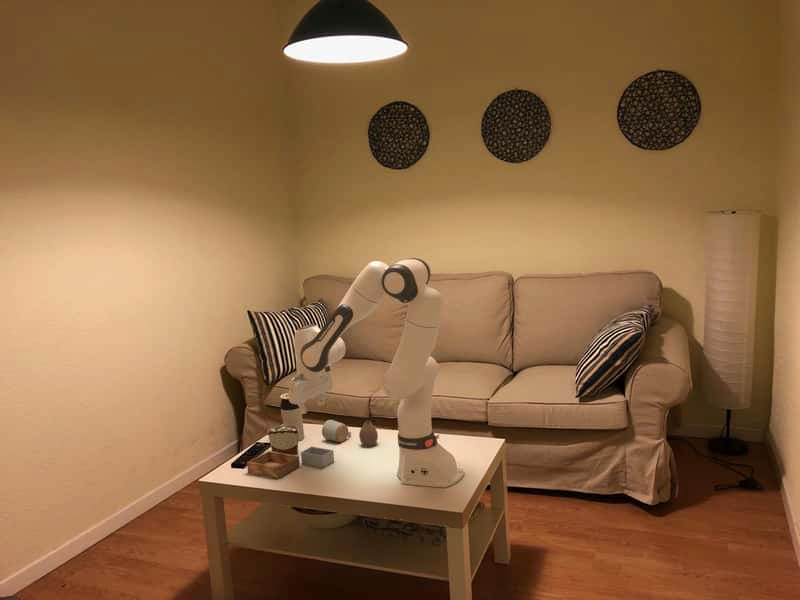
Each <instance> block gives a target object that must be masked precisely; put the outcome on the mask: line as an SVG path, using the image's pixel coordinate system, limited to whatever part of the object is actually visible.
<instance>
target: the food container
mask: <svg viewBox="0 0 800 600" xmlns="http://www.w3.org/2000/svg"><path fill="white" fill-rule="evenodd" d="M298 433H299V434H300V432H299V429H298V427H297V426H295V425H282V424H280V425H276V426H273V427H272V426H271V427H270V428H268V429H267V432H266V436H268V440H269V443H270V448H271V451H273V452H279V453H284V454H289V455H295V456H299V441H298Z"/></svg>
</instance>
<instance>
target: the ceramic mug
mask: <svg viewBox="0 0 800 600" xmlns="http://www.w3.org/2000/svg"><path fill="white" fill-rule="evenodd" d="M321 434H322V437H323V438H324V439H325V440H329V441H332V442H336V443H342V442H344V441H345V440H347V437H351V436H352V433H351V432H350V431H349V428H348V426H347V425H346V424H344V423H342V422H339V421H336V420H334V419H328V420H326V421H325V422H324V423H323V426H322V428H321Z"/></svg>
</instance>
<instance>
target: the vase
mask: <svg viewBox="0 0 800 600" xmlns="http://www.w3.org/2000/svg"><path fill="white" fill-rule="evenodd" d="M358 436H359V441H360V444H362V445H363V446H364V447H369V448H370V447H372V446H375V445H376V443H377V441H378V439H379V435H378V431H377V429H376V427H375V426H374V425H373V424H372V423H371V421H365V422H364V423H363V425H362V427H361V428H360V430H359V434H358Z"/></svg>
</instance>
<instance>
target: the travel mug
mask: <svg viewBox="0 0 800 600" xmlns="http://www.w3.org/2000/svg"><path fill="white" fill-rule="evenodd" d="M279 397H280V400H281V402H280V413H281V422H282V423H281V425H295V426H297V427H298V429H299V432H300V434H299V433H298V442H300V441H302V440H304V439H305V431H304V430H305V429H304V422H303V414H302V413H301V410H300V408H299V406H298V404H291V403H290V401H289V392H287V393H283V394H281V395H280V396H279Z"/></svg>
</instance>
